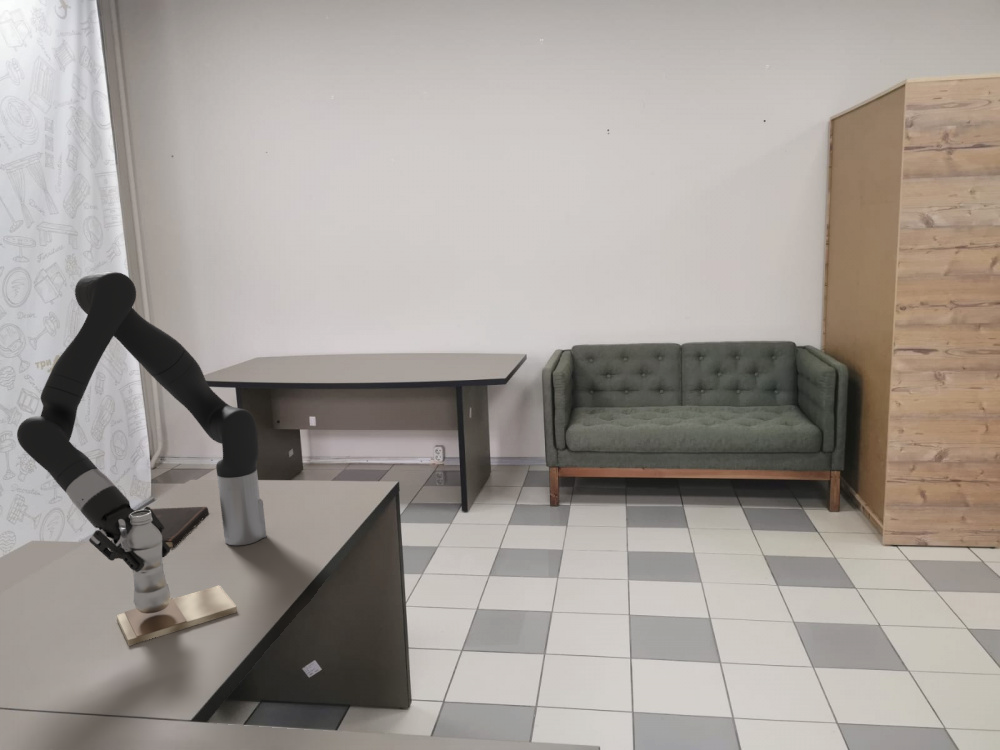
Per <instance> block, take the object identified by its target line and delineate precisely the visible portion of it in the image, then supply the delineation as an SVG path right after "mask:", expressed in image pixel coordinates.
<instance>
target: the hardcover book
mask: <svg viewBox="0 0 1000 750" xmlns="http://www.w3.org/2000/svg"><path fill="white" fill-rule="evenodd" d="M151 510H152V511H153V513H154V514H155V515H156V517H157V518H158V519H159V521H160V522H161V524H162V525H163V526H164V530H163V531H162V532H161V535H162V539H163V540H164V541H165V543H166V544H167V545H168V546H169V548H175V547H176V545H178V544H179V543H180V542H181V541H182V540H183V539H184V538H185V537H186V536H187V534H189V533H190V532H191V531H192V530H193V529H194V528H195V527H196V526H197V525H198V524H199V523H200V522H201V521H202V520H203V519H204V518H205V517H204V516H207V515H208V514H209V508H208V507H207V506H192V507H191V506H189V507H167V508H166V507H165V508H163V507H161V508H151ZM202 518H203V519H202ZM154 526H155V525H154ZM110 540H111V541H112V539H110Z"/></svg>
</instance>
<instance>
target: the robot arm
mask: <svg viewBox="0 0 1000 750" xmlns="http://www.w3.org/2000/svg"><path fill="white" fill-rule="evenodd" d="M136 289H137V288H136V286H135V284H134V281H132V279H131V278H130V277H129V276H127V275H126V274H124V273H122V272H117V271H107V272H106V271H104V272H97V273H90V274H87V275H85V276H83V277H82V278H80V279H79V280H78V281H77V282H76V285H75V288H74V296H75V300H76V302H77V304H78V306H79V307H80V309H81V310H82V311H83V312H84V313H85V314H86V317H85V321H84V322H83V324H82V325H81V326H82V327H80V330H79V331H78V333H77V334H76V336H74V338H73V339H72V340H71V342H70V343H69V344H68V346H67V347H66V349H64V351H63V352H62V353H61V354H60V356H59V358H58V359H57V360H56V362H55V364H54V365H53V367H52V369H51V371H50V374H49V376H48V378H47V379H46V382H45V384H44V387H43V389H42V391H41V394H40V402H41V403H42V410H41V414H40V415H38V416H30V417H28V418H26V419H25V420H23V421H22V422H21V423H20V425H19V426H18V429H17V431H16V432H17V433H16V438H17V442H18V444H19V445H20V447H21V448H22V449H23V450H24V451H25V453H26V454H27V455H29V457H31V458H32V459H33V460H34V461H35V462H36V463H37V464H39V465H40V466H41V467H42V468H43V469H44V470H46V472H47V473H49V475H50V476H51V477H52V478H53V480H54V481H55V482H56V484H57V485H58V486H59V487H60V488H61V489H62V490H63V491H64V492H65V494H66V495H67V496H68V498H69V499H70V501H71V502H72V503H73V505H74V506H75V507H76V508H77V509H78V510H79V512H80V513H81V514H82V515H83V517H85V518H86V519H87V520H88V521H89V523H90V524H91V525H92V526H93V528H96V529H98V530H95V531H94V532H93V534H92V535H91V536H90V538H89V539H88V540H89V543H90V544H92V546H94V547H95V548H96V549H97V550H98V551H99V552H100V553H102V554H103V556H105V557H106V558H107V559H108V560H109V561H112V562H113V561H115V560H117V559H120V560H123V561H124V562H125V564H126V565H127V566H128V567H129V569H131V570H132V571H133V570H135V571H136V572H139V571H140V570H141V569H142V568H143V567H144V563H143V562H142V561H141V559H140V558H139V557H138V556H137V555H136V554H135V553H134V552H133V550H132V551H130V547H129V546H128V544H127V539H128V532H129V531H130V529H131V528H132V525H131V524H130V521H131V520H130V514H131V513H132V512H135V511H136V510H135V509H133V508H132V507H131V504H130V500H129V499H128V498H127V497H126V496H125V495H124V494H123V493H122V491H120V489H119V488H118V487H117V486H116V485H115V483H113V482H112V480H111V479H110V478H109V477H108V476H107V475H106V474H105V473H103V472H102V471H101V470H100V469H99V467H97V466H96V465H95V463H93V461H92V460H91V459H90V458H89V457H88V456H87V454H85V453H84V452H82V451H81V450H79V449H77V448H76V447H75V446H74V444H73V443H71V438H72V434H73V431H74V427H75V423H76V419H77V413H78V408H79V405H80V403H81V401H82V399H83V397H84V394H85V392H86V390H87V387H88V386H89V383H90V381H91V378H92V377H93V374H94V372H95V370H96V368H97V366H98V364H99V362H100V360H101V358H102V357H103V354H104V353H105V351H106V350H107V347H108V346H109V344H110V342H111V341H112V340H113V337H114V338H115V339H116V340H117V341H119V343H120V344H121V345H122V346H123V347H124V348H125V350H127V352H128V353H130V355H132V357H133V358H134V359H135V360H137V362H138V363H139V364H140V365H141V366H142V367H143V368H144V370H145V371H147V372H148V374H150V375H151V377H153V379H155V381H157V383H158V384H160V386H161V387H163V388H164V389H165V390H166V392H168V393H169V394H170V395H171V396H172V397H173V398H174V399H176V401H178V403H180V404H181V405H182V406H184V408H185V409H186V410H187V411H188V412H189V413H190V414H191V415H192V416H193V418H194V419H195V420H196V421H197V423H198V425H200V427H201V428H202V429H203V430H204V432H205V433H206V435H208V437H209V438H210V439H212V440H213V441H214V442H216V443H217V444H222V459H220V460H218V461H217V463H216V466H215V468H216V475H217V476H216V477H217V485H218V487H217V488H218V494H219V501H220V509H221V511H220V512H221V520H222V528H223V536H224V538H223V539H224V542H225V544H227V545H229V546H245V545H251V544H254V543H256V542H259V541H260V540H262V539H263V538H266V537H267V536H268V535H267V530H266V529H267V528H266V519H265V508H264V501H263V499H261V498H260V487H259V478H258V469H257V462H258V461H259V453H260V452H259V437H258V425H257V422H256V419H255V416H254V415H253V414H252V413H251V412H250V411H248V410H247V409H244V408H239V407H236V406H235V407H234V406H231V405H229V404H228V403H227V402H225V400H223V399H222V398H221V397H220V396H218V395H217V393H216V392H215V391H214V390H212V388H211V387H210V385H209V384H208V382H207V380H206V378H205V376H204V372H203V370H202V368H201V367H200V364H199V363H198V362H197V360H196V359H195V358H194V356H192V354H190V352H189V351H188V350H187V349H186V348H185V347H184V346H183V345H182V344H181V343H180V342H179V341H178V340H177V339H175V338H174V337H173V336H171V335H170V334H168V333H167V332H165V331H163V329H160V328H159V327H157V326H155V325H154V324H152V323H150V322H149V321H147V319H145V318H143V316H142V315H140V314H139V313H138V312H137V311H136V309H134V308H133V306H134V304H135V302H136V300H137V290H136ZM151 509H152V508H151V507H150V506H145V507H144V509H143V510H150V511H151V516H152V519H153V520H152V522H151V523H152V524H153V525H155V527H156V528H157V529H158V530H159V531H160V533H161V532H162V531H163V530H164V526H163V525H162V524H161V522H160V521H159V519H158V518H157V517H156V515H155V514H154V513H153V511H152V510H151ZM111 540H112V541H111ZM170 552H171V550H170V547H169V546H168V545H167V544H166V543H165V541H164V540H163V539H162V558H165V557H167V556H168V555H169V553H170Z"/></svg>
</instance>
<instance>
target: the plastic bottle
mask: <svg viewBox="0 0 1000 750" xmlns="http://www.w3.org/2000/svg"><path fill="white" fill-rule="evenodd" d="M130 520H131V521H130V524H131V525H132V528H131V529H130V531H129V532H128V539H127V544H128V546H129V547H130V551H132V550H133V552H134V553H135V554H136V555H137V556H138V557H139V558H140V559H141V561H142V562H143V563H144V567H143V568H142V569H141V570H140V571H139V572H136V571H135V570H132V573H133V603H134V606H135V609H137V610H138V611H139V612H141V613H147V614H148V613H155V612H159V611H161V610H163V609H165V608H166V607H167V606H168V605H169V603H170V599H171V598H172V597H171V595H172V594H171V590H170V587H169V584H168V583H167V579H166V574H165V569H164V564H163V557H162V535H161V533H160V531H159V530H158V529H157V528H156V527H155V526H154V525H153V524H152V523H151V522H152V520H153V519H152V516H151V511H150V510H144V509H139V510H135V512H132V513H131V514H130Z"/></svg>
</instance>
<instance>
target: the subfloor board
mask: <svg viewBox="0 0 1000 750" xmlns="http://www.w3.org/2000/svg"><path fill="white" fill-rule="evenodd" d="M235 613H238V608H237V605H236V604H235V602H234V601H233V599H232V598H231V597H230V596H229V595H228V594H227V592H226V591H225V590H224V589H223V587H222V586H221V585H216V586H212V587H209V588H206V589H201V590H199V591H195V592H191V593H188V594H185V595H182V596H177V597H175V598H173V597H170V603H169V605H168V606H167V607H166V608H165V609H163V610H161V611H159V612H155V613H148V614H147V613H141V612H139V611H138V610H137V609H136V608H133V609H130V610H126V611H124V612H123V613H120V614H117V615H116V621H117V624H118V625H119V627H120V630H121V632H122V634H123V637H124V638H125V641H126V643H127V644H128V646H129V647H130V646H133V645H136V643H137V644H139V642H140V643H142V641H143V642H146V641H150V640H152V638H153V639H155V637H156V638H159V637H162V636H165V635H169V634H172V633H174V632H178V631H181V630H185V629H187V628H190V627H194V626H196V625H197V626H198V625H200V624H201V625H202V624H203V623H207V622H209V621H213V620H217V619H220V618H222V617H225V616H228V615H232V614H235ZM149 639H150V640H149ZM145 640H146V641H145Z"/></svg>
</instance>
